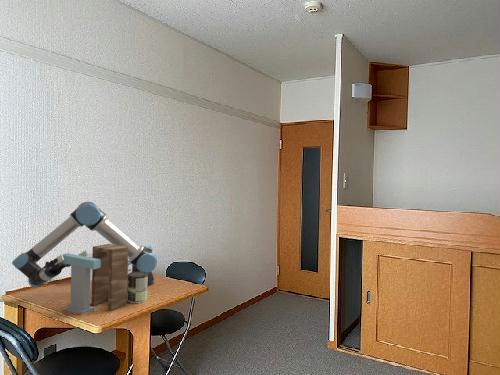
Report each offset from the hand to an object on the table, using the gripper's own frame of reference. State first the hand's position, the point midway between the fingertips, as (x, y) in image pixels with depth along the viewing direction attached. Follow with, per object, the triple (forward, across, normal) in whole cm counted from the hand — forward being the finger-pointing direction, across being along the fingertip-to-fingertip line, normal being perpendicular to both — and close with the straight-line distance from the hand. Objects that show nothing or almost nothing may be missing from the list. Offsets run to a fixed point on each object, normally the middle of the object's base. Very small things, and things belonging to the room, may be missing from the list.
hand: (75, 254), depth 183 cm
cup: (-46, -37, -5) cm, 59 cm away
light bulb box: (-42, -63, -7) cm, 76 cm away
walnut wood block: (-4, -12, -28) cm, 31 cm away
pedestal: (-10, 0, -25) cm, 27 cm away
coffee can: (+1, -26, -32) cm, 41 cm away
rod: (+1, 0, -6) cm, 6 cm away
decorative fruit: (-12, -33, -24) cm, 43 cm away
